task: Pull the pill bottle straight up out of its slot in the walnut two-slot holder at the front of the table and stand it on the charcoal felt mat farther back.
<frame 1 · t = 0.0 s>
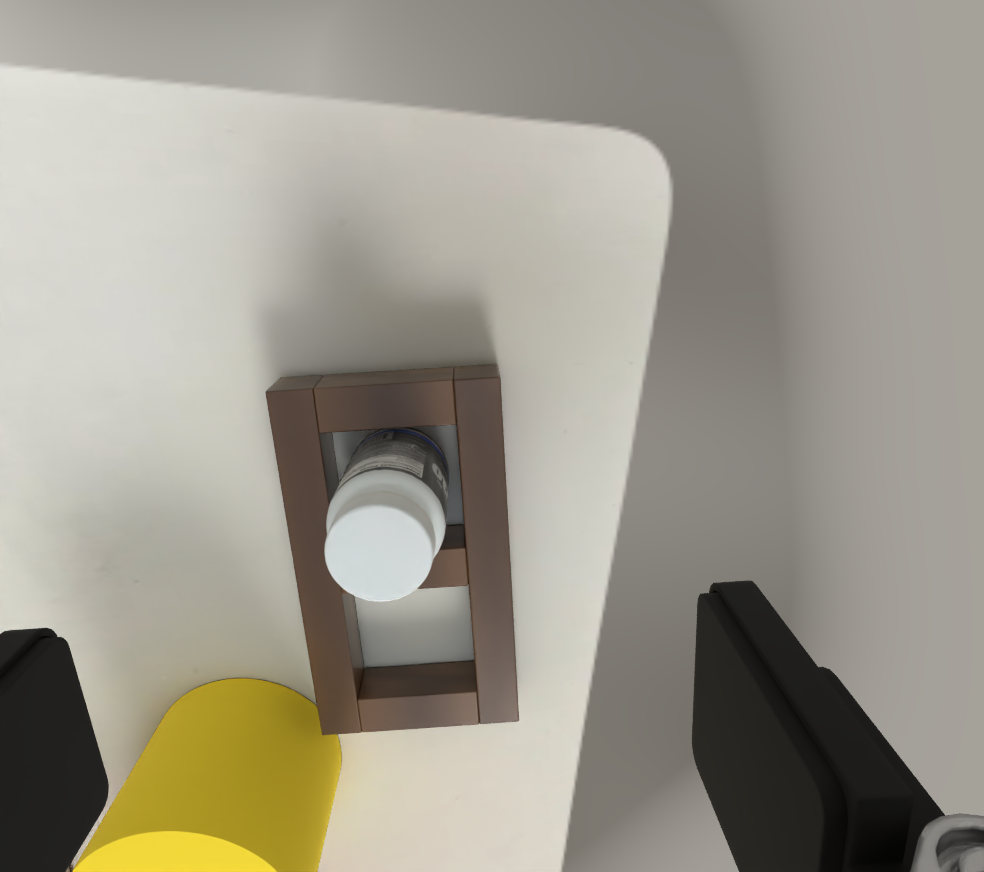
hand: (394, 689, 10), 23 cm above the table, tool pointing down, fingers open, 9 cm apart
yellow toilet paper roll: (250, 752, 39), on the table
holder: (407, 546, 35), on the table
pill bottle: (400, 470, 34), resting in holder
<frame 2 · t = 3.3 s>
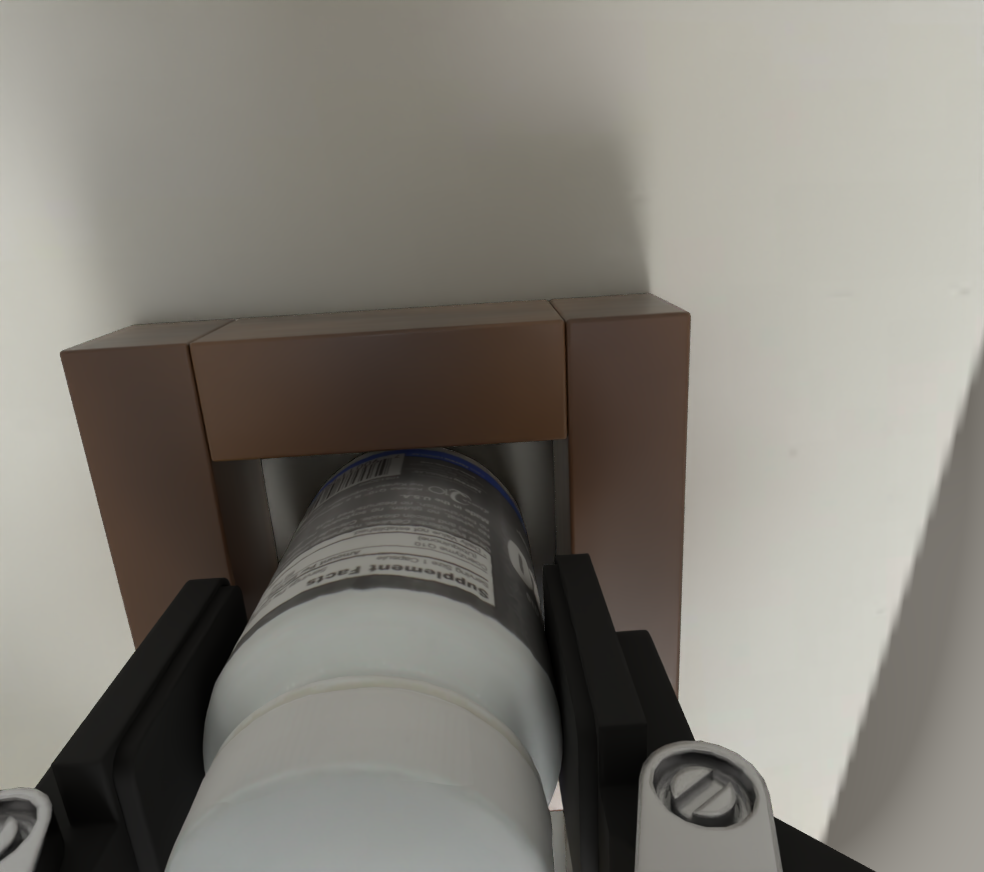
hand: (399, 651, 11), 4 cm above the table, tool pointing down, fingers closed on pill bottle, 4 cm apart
holder: (432, 697, 16), on the table
pill bottle: (417, 538, 15), resting in holder, touching gripper
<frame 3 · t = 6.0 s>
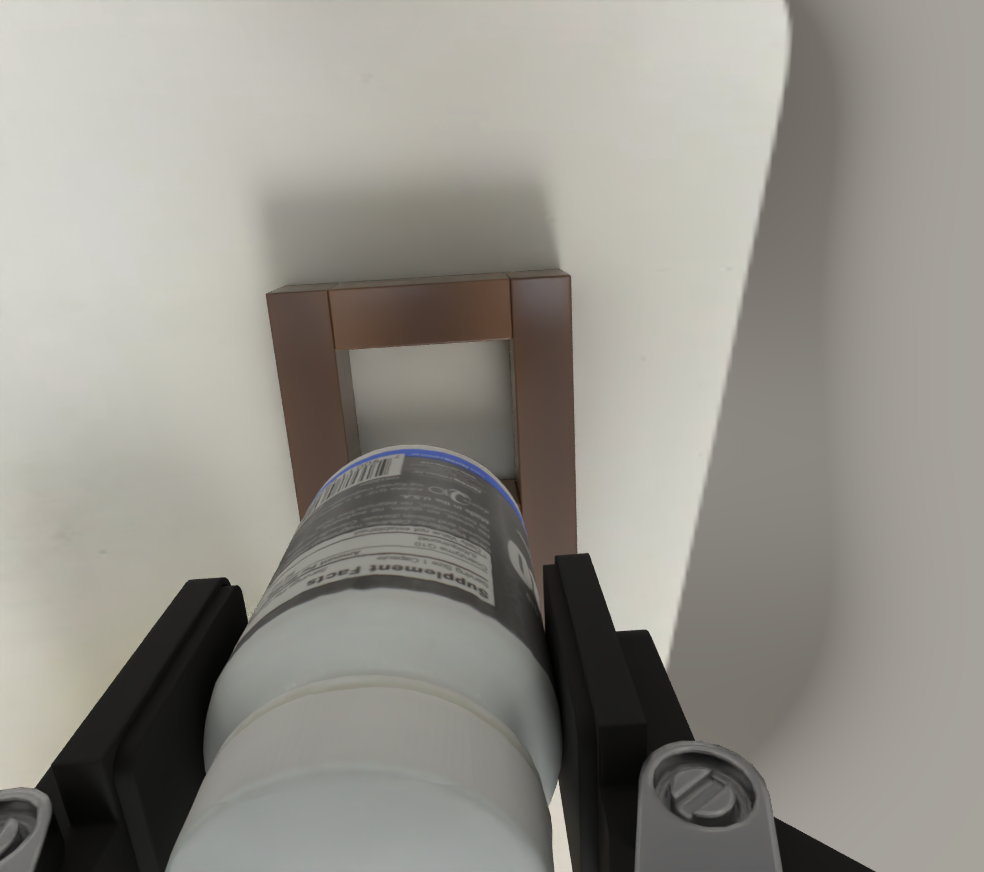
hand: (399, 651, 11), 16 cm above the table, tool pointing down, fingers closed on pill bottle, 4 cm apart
holder: (442, 506, 28), on the table
pill bottle: (417, 538, 15), point 12 cm above the table, touching gripper
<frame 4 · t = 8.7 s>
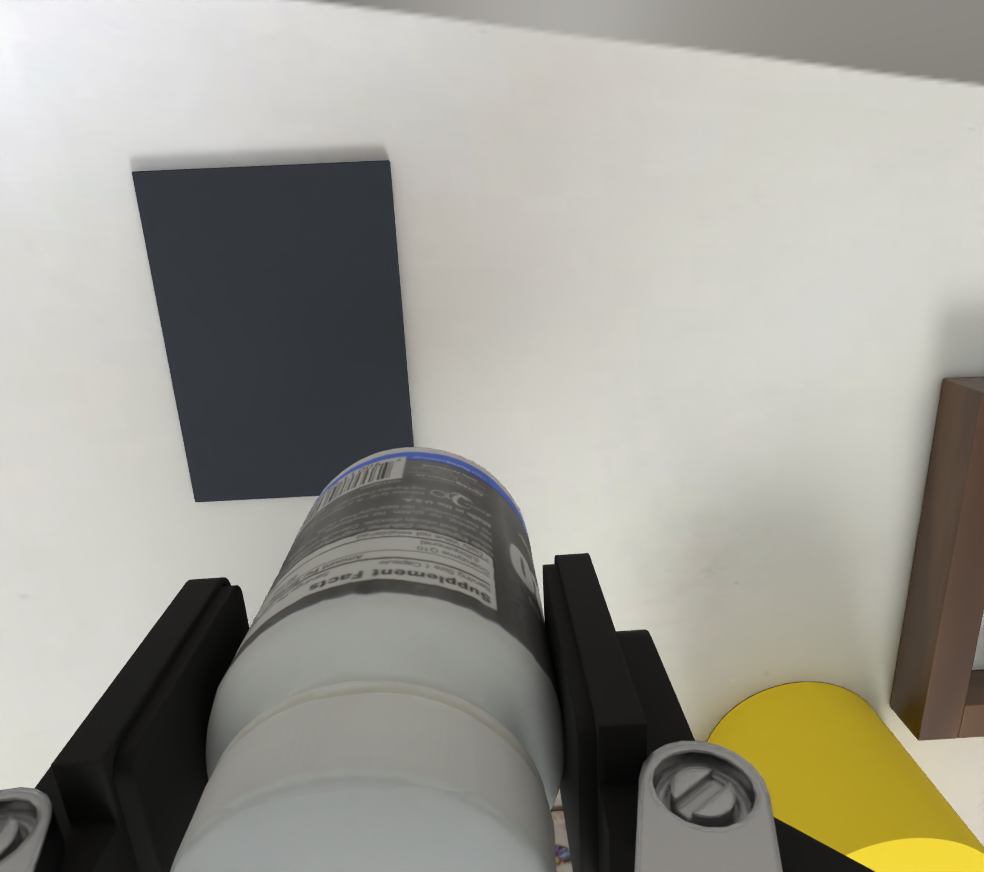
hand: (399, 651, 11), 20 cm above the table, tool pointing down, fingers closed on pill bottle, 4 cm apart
yellow toilet paper roll: (791, 756, 38), on the table
pill bottle: (418, 541, 15), point 16 cm above the table, touching gripper
mat: (287, 341, 30), on the table
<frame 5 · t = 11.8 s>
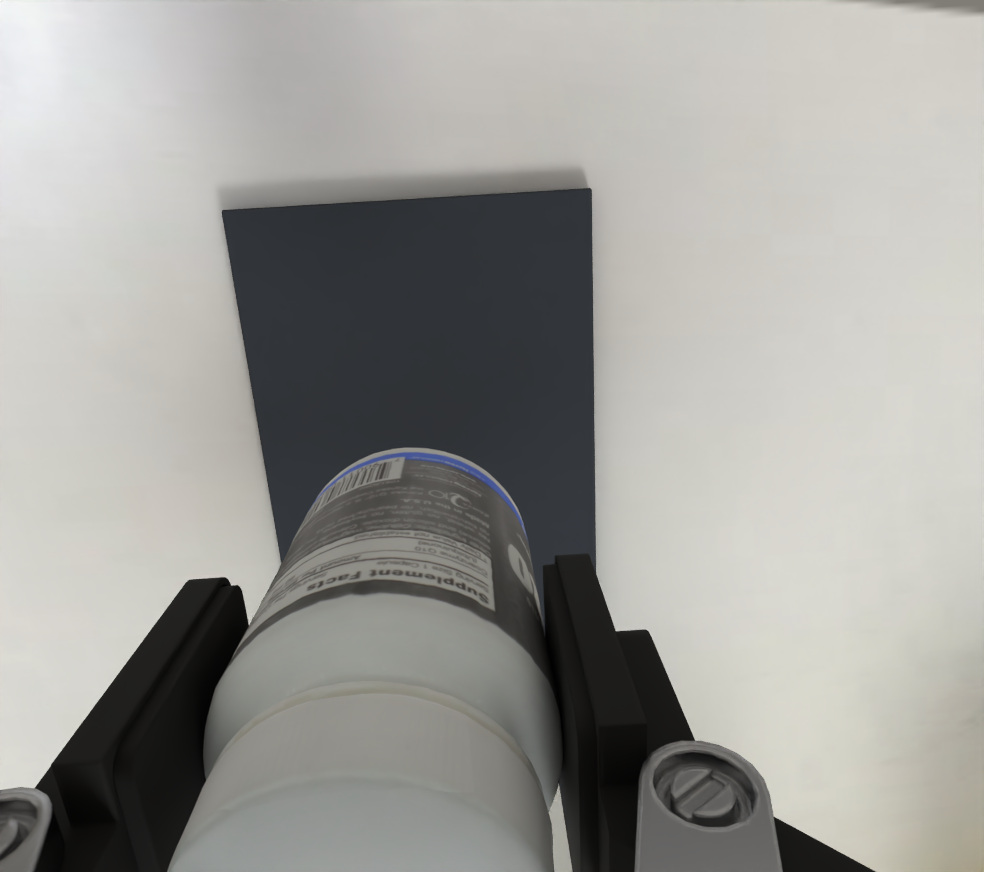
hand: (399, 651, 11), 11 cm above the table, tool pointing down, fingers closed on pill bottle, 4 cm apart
pill bottle: (417, 541, 15), point 7 cm above the table, touching gripper
mat: (429, 440, 22), on the table
when the fingers open (4 cm above the table, at t = 14.0 s): pill bottle stays where it is, resting on mat.
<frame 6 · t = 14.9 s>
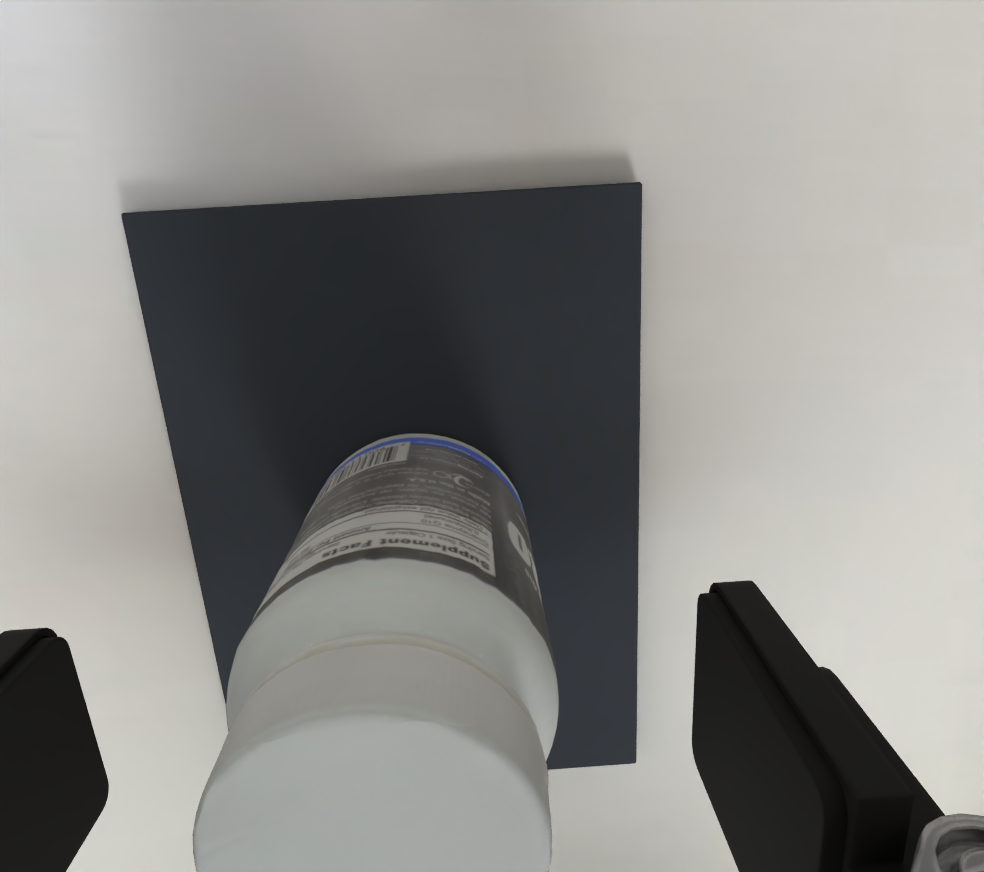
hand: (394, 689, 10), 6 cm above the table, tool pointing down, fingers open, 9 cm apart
pill bottle: (421, 524, 16), resting on mat
mat: (417, 521, 16), on the table
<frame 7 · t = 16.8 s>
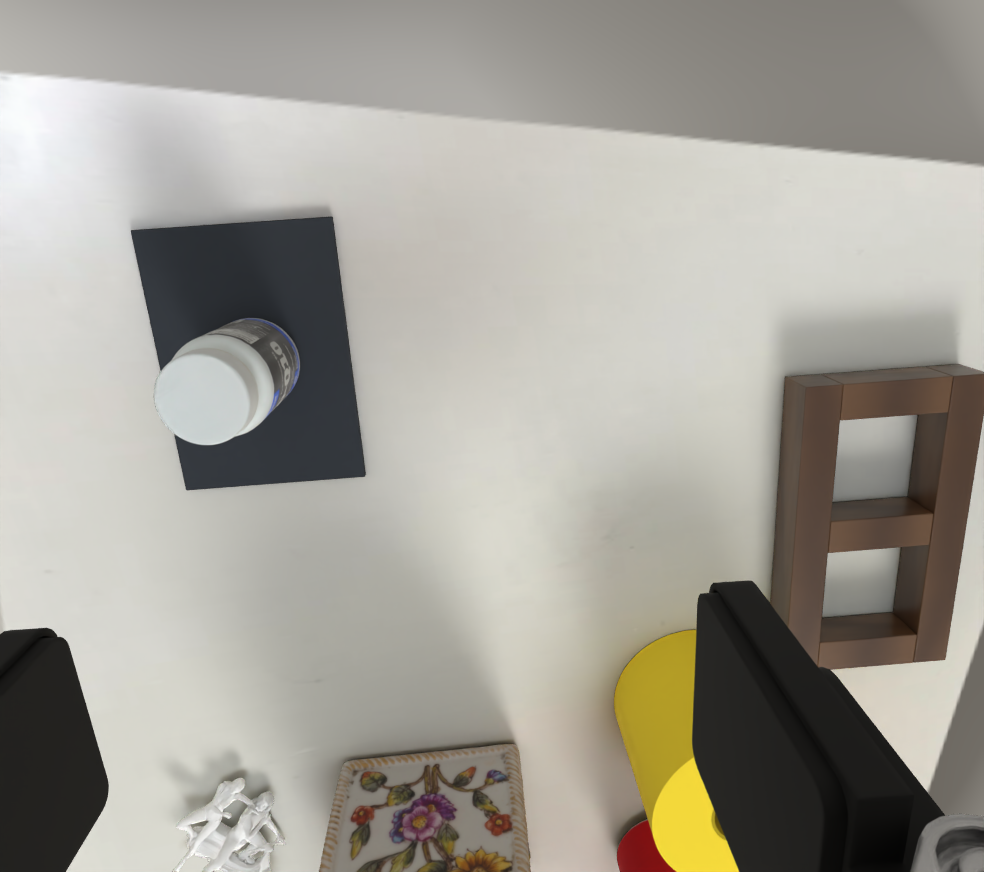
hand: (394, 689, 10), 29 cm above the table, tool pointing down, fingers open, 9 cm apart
yellow toilet paper roll: (689, 694, 46), on the table
holder: (857, 515, 42), on the table
pill bottle: (257, 360, 37), resting on mat
beverage can: (657, 839, 49), on the table
figurine: (245, 819, 47), on the table
decorative jar: (439, 813, 48), on the table
mat: (256, 359, 38), on the table
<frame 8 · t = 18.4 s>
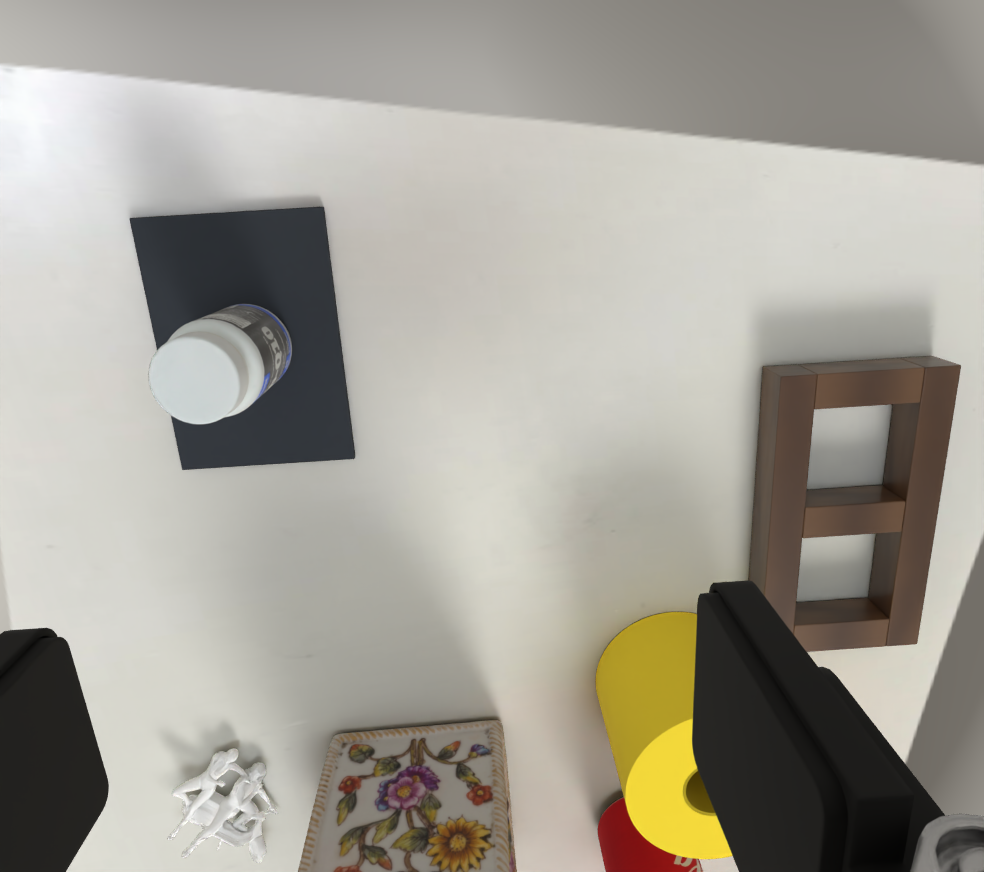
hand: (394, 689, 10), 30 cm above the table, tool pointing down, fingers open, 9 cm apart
yellow toilet paper roll: (669, 675, 47), on the table
holder: (832, 502, 43), on the table
pill bottle: (251, 344, 39), resting on mat
beverage can: (637, 815, 51), on the table
figurine: (238, 788, 49), on the table
decorative jar: (426, 787, 49), on the table
mat: (250, 344, 39), on the table
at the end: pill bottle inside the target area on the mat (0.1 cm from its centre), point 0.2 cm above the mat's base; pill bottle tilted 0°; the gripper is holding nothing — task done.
